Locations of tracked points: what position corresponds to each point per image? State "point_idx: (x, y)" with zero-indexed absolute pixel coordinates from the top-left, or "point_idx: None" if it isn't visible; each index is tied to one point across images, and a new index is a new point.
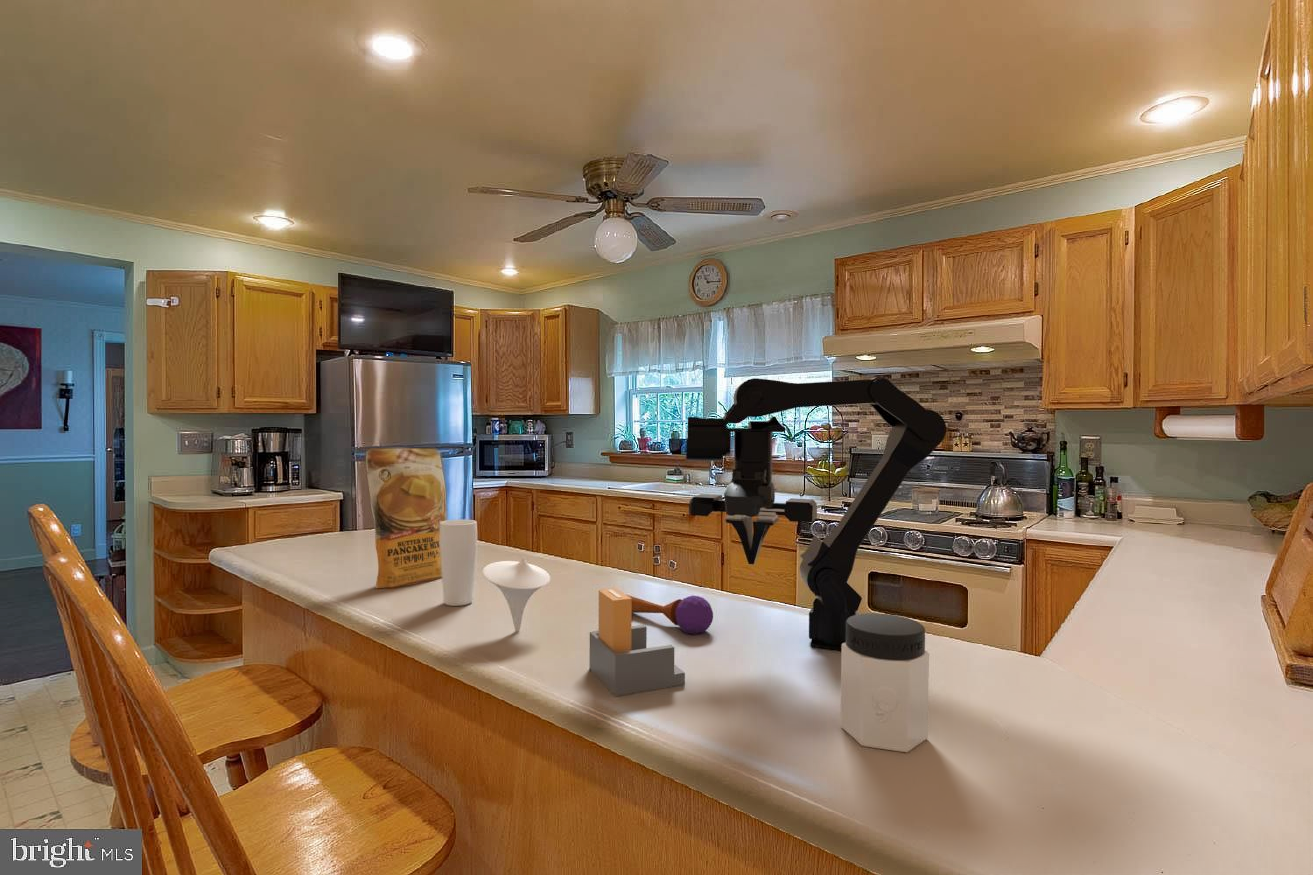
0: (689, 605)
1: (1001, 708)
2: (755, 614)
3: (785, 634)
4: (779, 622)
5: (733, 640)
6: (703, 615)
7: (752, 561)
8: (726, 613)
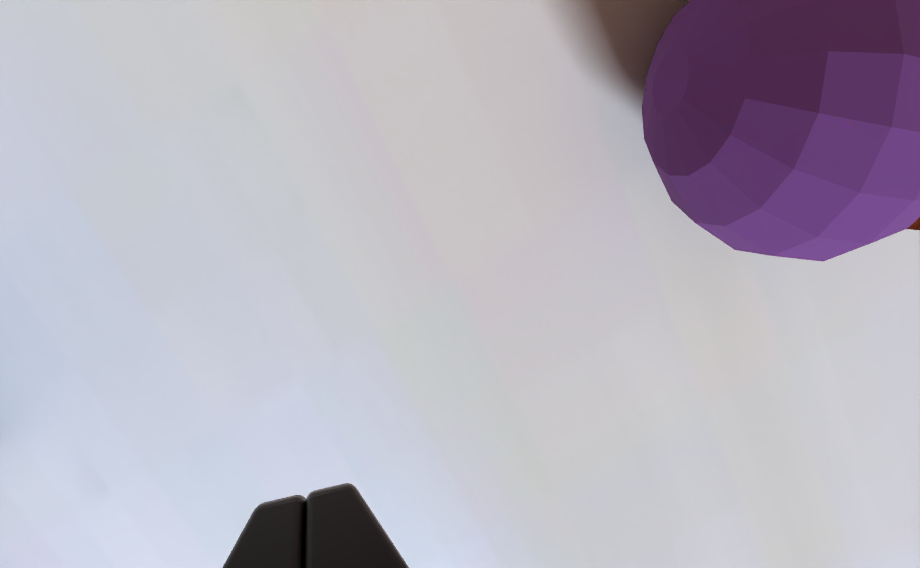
0: (881, 22)
1: None
2: (499, 545)
3: (171, 354)
4: None
5: (419, 50)
6: (712, 38)
7: (270, 523)
8: (656, 474)
